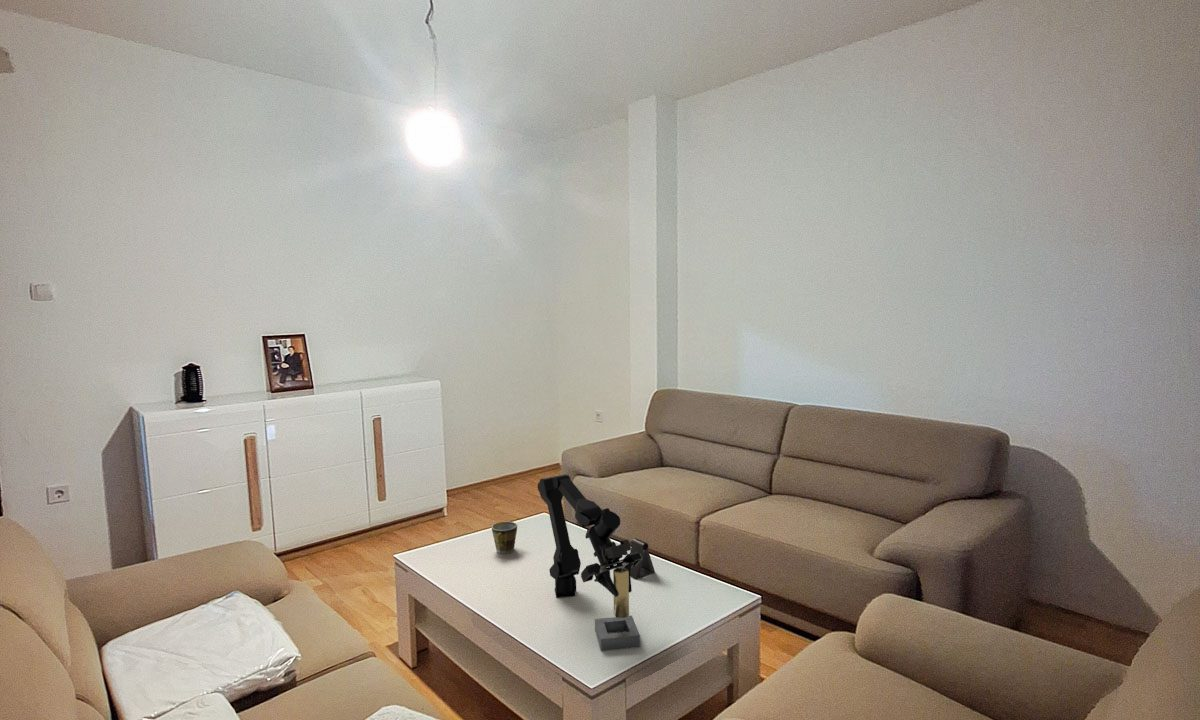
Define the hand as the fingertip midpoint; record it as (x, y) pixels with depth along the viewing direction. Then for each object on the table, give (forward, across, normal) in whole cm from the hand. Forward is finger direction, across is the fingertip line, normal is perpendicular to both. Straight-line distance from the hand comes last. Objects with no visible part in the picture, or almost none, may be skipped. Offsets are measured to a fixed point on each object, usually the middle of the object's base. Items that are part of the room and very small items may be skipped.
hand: (623, 594), depth 178 cm
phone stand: (-13, +30, +33) cm, 46 cm away
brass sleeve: (+4, 0, +6) cm, 7 cm away
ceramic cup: (-46, -3, +65) cm, 80 cm away
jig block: (+8, -2, +10) cm, 14 cm away
